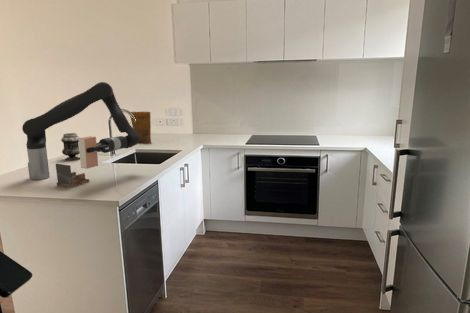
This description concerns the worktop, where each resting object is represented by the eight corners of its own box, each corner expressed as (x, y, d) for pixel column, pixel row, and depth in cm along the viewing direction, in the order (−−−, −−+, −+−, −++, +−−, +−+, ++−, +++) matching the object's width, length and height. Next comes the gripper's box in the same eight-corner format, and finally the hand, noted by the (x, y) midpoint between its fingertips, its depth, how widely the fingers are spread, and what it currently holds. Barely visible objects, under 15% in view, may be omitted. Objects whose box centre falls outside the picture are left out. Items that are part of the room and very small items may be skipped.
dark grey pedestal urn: (80, 160, 232) (78, 134, 228) (61, 161, 228) (58, 135, 224) (82, 156, 243) (80, 132, 239) (64, 158, 240) (61, 132, 236)
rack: (76, 179, 187) (74, 159, 184) (89, 181, 182) (87, 161, 180) (56, 185, 176) (54, 164, 174) (70, 188, 172) (67, 166, 169)
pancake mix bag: (150, 144, 291) (148, 111, 285) (131, 143, 297) (128, 111, 291) (154, 143, 298) (152, 111, 292) (135, 141, 303) (133, 110, 297)
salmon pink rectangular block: (92, 164, 175) (90, 136, 172) (98, 165, 173) (95, 136, 170) (80, 167, 168) (78, 138, 165) (86, 168, 167) (84, 138, 164)
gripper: (99, 136, 184) (72, 141, 169) (119, 138, 178) (93, 144, 163) (100, 150, 185) (74, 156, 170) (120, 152, 179) (94, 159, 164)
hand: (83, 150), depth 167 cm, fingers closed on salmon pink rectangular block, 4 cm apart
